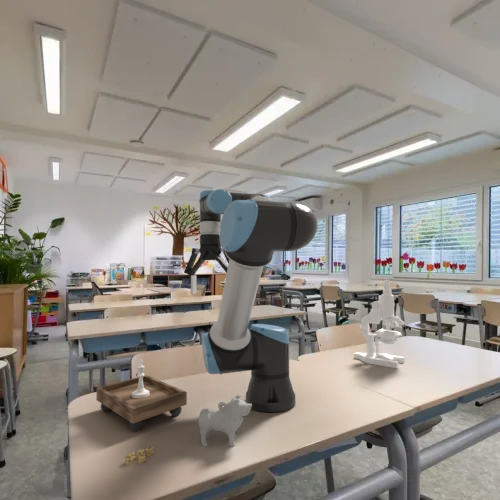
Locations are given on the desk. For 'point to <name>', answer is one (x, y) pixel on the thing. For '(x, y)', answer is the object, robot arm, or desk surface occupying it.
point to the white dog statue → (223, 419)
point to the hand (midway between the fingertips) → (210, 293)
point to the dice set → (140, 456)
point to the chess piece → (140, 383)
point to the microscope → (381, 330)
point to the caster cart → (141, 400)
